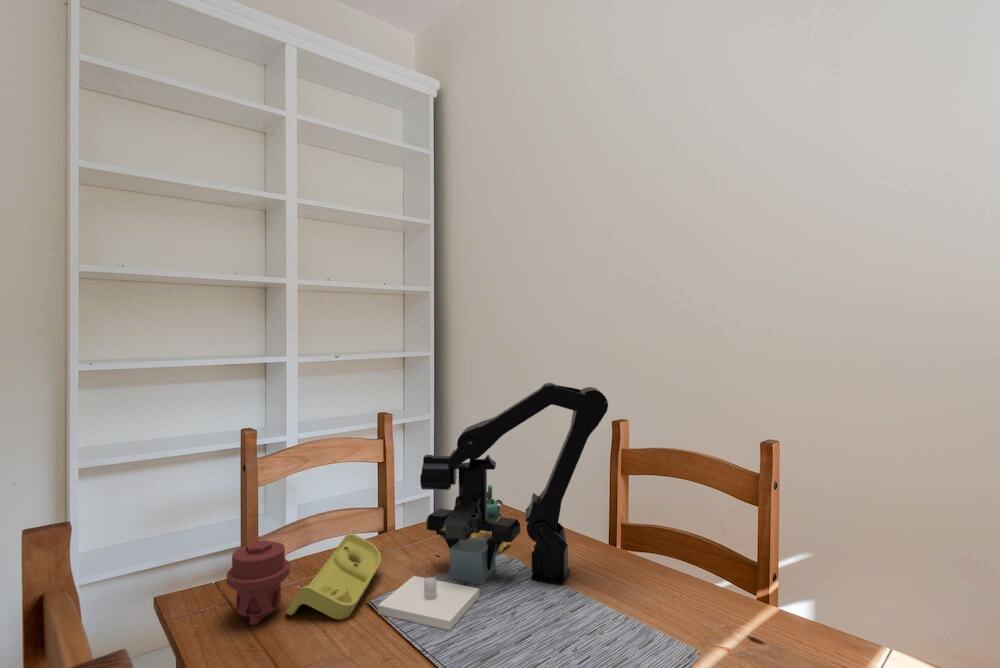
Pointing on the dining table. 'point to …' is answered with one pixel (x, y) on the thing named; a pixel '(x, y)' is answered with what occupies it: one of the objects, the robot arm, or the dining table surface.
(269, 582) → the mechanical component
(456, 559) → the slate grey cube
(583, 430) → the robot arm
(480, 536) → the green and yellow piece
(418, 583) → the base plate
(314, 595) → the plastic component
